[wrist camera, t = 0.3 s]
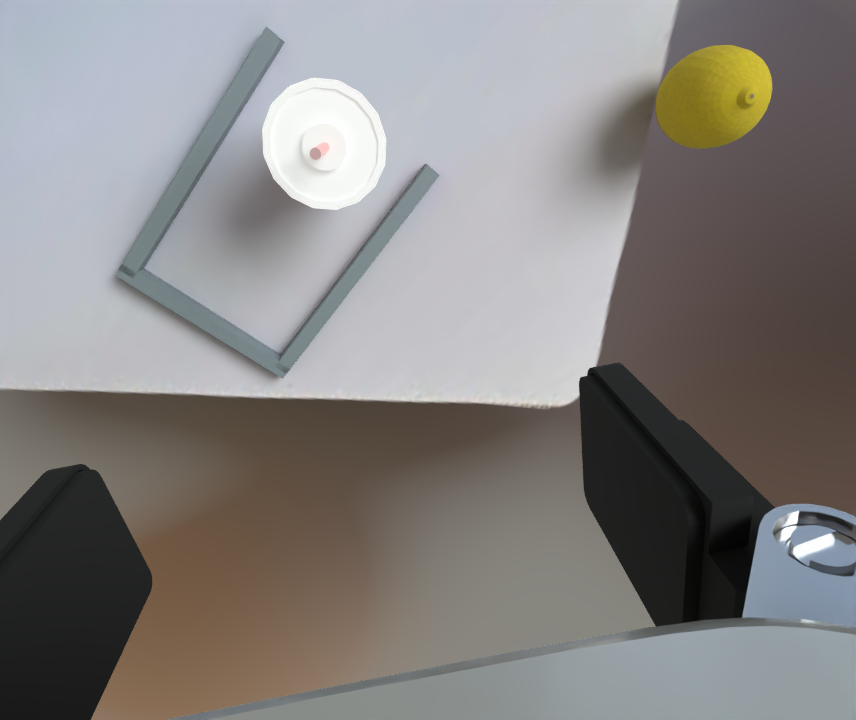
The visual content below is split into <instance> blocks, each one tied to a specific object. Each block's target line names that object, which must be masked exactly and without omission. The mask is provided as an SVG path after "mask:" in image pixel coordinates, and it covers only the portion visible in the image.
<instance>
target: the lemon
mask: <svg viewBox="0 0 856 720" xmlns="http://www.w3.org/2000/svg"><path fill="white" fill-rule="evenodd" d="M771 92H772V79H771V75H770V72H769V69H768V67H767V66H766V64H765V63H764V61H763V60H762V59H761V58H760V57H759V56H757V55H756V54H755V53H753V52H752V51H750V50H747V49H744V48H740V47H737V46H733V45H718V46H711V47H707V48H704V49H701V50H698V51H695V52H693V53H691V54H690V55H688V56H686V57H685V58H683V59H682V60H680V61H679V62H678V63H677V64H676V65H675V66H674V67H673V68H672V69H671V70H670V71H669V72H668V74H667V75H666V77H665V78H664V80H663V81H662V83H661V85H660V88H659V90H658V92H657V97H656V103H655V108H656V117H657V120H658V124H659V125H660V127H661V129H662V130H663V132H664V133H665V134H666V135H667V136H668V137H669V138H670V139H671V140H673V141H674V142H676V143H678V144H681V145H683V146H686V147H691V148H701V149H705V148H712V147H717V146H722V145H725V144H727V143H729V142H732V141H734V140H736V139H739V138H740V137H742V136H743V135H745V134H746V133H747V132H748V131H750V130H751V129H752V128H753V127H754V126H755V125H756V124H757V123H758V122H759V120H760V119H761V118H762V116H763V114H764V113H765V111H766V109H767V107H768V104H769V102H770V99H771Z"/></svg>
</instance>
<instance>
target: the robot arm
mask: <svg viewBox="0 0 856 720" xmlns="http://www.w3.org/2000/svg"><path fill="white" fill-rule="evenodd" d="M579 391H580V412H581V436H582V458H583V480H584V492H585V497H586V500H587V503H588V505H589V507H590V509H591V511H592V513H593V515H594V516H595V518H596V520H597V522H598V523H599V525H600V527H601V529H602V531H603V532H604V534H605V536H606V538H607V539H608V541H609V543H610V545H611V547H612V549H613V550H614V552H615V554H616V556H617V557H618V559H619V561H620V563H621V565H622V566H623V568H624V570H625V572H626V574H627V575H628V577H629V579H630V581H631V583H632V584H633V586H634V588H635V590H636V591H637V593H638V595H639V596H640V599H641V600H642V602H643V604H644V606H645V608H646V609H647V611H648V613H649V615H650V617H651V618H652V620H653V622H654V624H655V625H656V627H649V628H644V629H638V630H632V631H626V632H621V633H615V634H609V635H603V636H598V637H592V638H586V639H580V640H575V641H569V642H563V643H557V644H552V645H546V646H541V647H535V648H530V649H525V650H519V651H514V652H509V653H504V654H499V655H494V656H489V657H484V658H478V659H473V660H468V661H462V662H457V663H452V664H447V665H442V666H436V667H431V668H426V669H421V670H416V671H410V672H406V673H400V674H395V675H390V676H385V677H380V678H374V679H369V680H365V681H359V682H354V683H349V684H344V685H339V686H334V687H329V688H323V689H318V690H313V691H308V692H303V693H298V694H293V695H288V696H283V697H278V698H273V699H268V700H263V701H258V702H253V703H248V704H243V705H238V706H233V707H228V708H223V709H218V710H213V711H208V712H203V713H198V714H193V715H188V716H183V717H178V718H173V719H168V720H856V517H854V516H852V515H850V514H847V513H845V512H842V511H839V510H835V509H832V508H829V507H825V506H819V505H812V504H788V505H785V506H781V507H777V508H775V507H774V506H773V505H772V504H771V503H770V502H769V501H768V500H767V499H766V498H764V497H763V496H762V495H761V494H760V493H759V492H758V491H757V490H756V489H755V488H754V487H753V486H752V485H751V484H750V483H749V482H748V481H747V480H746V479H745V478H744V477H743V476H742V475H741V474H740V473H738V471H736V470H735V469H734V468H733V467H732V466H731V465H730V464H729V463H728V462H727V461H726V460H725V459H724V458H723V457H722V456H721V455H720V454H719V453H718V452H717V451H716V450H715V449H714V448H713V447H712V446H711V445H710V444H709V443H708V442H707V441H705V440H704V439H703V438H702V437H701V436H700V435H699V434H698V433H697V432H696V431H695V430H694V429H693V428H692V427H691V426H690V425H689V424H687V423H686V422H685V421H683V420H678V419H677V418H676V417H675V416H674V415H673V414H672V413H671V412H670V411H669V410H668V409H667V408H666V407H665V406H664V405H663V404H662V403H661V402H660V401H659V400H658V399H657V398H656V397H655V396H654V395H653V394H652V393H651V392H650V391H649V390H648V389H647V388H646V387H645V386H644V385H642V383H641V382H640V381H638V380H637V378H635V377H634V376H633V375H632V374H631V373H630V372H629V371H628V370H627V369H626V368H625V367H624V366H623V365H622V364H620V363H614V364H609V365H603V366H598V367H593V368H590V369H589V370H588V374H587V376H585V377H581V378H580V381H579ZM151 588H152V575H151V572H150V570H149V568H148V566H147V564H146V562H145V560H144V558H143V556H142V554H141V552H140V550H139V548H138V547H137V545H136V543H135V541H134V539H133V537H132V535H131V533H130V531H129V529H128V528H127V525H126V523H125V521H124V520H123V518H122V516H121V514H120V512H119V510H118V508H117V506H116V504H115V502H114V500H113V499H112V497H111V495H110V493H109V491H108V489H107V487H106V485H105V483H104V481H103V479H102V477H101V476H100V474H99V473H98V472H97V471H96V470H90V469H89V468H88V467H87V466H86V465H83V464H78V465H73V466H68V467H63V468H57V469H52V470H48V471H46V472H45V473H44V474H43V475H42V476H41V477H40V478H39V479H38V480H37V481H36V482H35V484H33V485H32V487H31V488H30V489H29V490H28V491H27V492H26V493H25V494H24V495H23V496H22V497H21V499H20V500H19V501H18V502H17V503H16V504H15V505H14V506H13V507H12V508H11V509H10V510H9V511H8V513H7V514H6V515H5V516H4V517H3V518H2V519H1V520H0V720H91V718H92V716H93V713H94V711H95V709H96V707H97V705H98V703H99V701H100V698H101V696H102V694H103V692H104V690H105V688H106V686H107V684H108V681H109V679H110V677H111V675H112V673H113V670H114V668H115V666H116V664H117V662H118V660H119V658H120V656H121V654H122V652H123V649H124V647H125V645H126V643H127V641H128V639H129V636H130V634H131V632H132V630H133V628H134V625H135V624H136V621H137V619H138V617H139V615H140V613H141V611H142V609H143V606H144V604H145V602H146V600H147V598H148V596H149V594H150V591H151Z"/></svg>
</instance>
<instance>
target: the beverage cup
mask: <svg viewBox="0 0 856 720" xmlns="http://www.w3.org/2000/svg"><path fill="white" fill-rule="evenodd" d="M262 135H263V155H264V158H265V160H266V162H267V165H268V167H269V169H270V172H271V174H272V176H273V179H274V180H275V181H276V182H277V183H278V184H279V185H280V186H281V187H282V188H283V189H284V190H285V192H286V193H287V194H288V195H289V196H290V197H291V198H293V199H295V200H297V201H299V202H301V203H303V204H306V205H308V206H310V207H312V208H317V209H332V210H338V209H340V208H343V207H346V206H349V205H352V204H355V203H358V202H359V201H360V200H361V199H362V198H363V197H364V196H366V195H367V194H368V193H369V192H370V191H371V190H372V189H373V188H374V187H375V186H376V184H377V181H378V179H379V177H380V175H381V173H382V170H383V168H384V166H385V157H386V137H385V134H384V131H383V127H382V124H381V121H380V118H379V115H378V113H377V112H376V111H375V110H374V108H373V107H372V106H371V105H370V103H369V102H368V101H367V100H366V98H365V97H364V96H363V95H362V93H360V92H358V91H357V90H355V89H353V88H351V87H349V86H348V85H346V84H344V83H342V82H340V81H339V80H331V79H321V78H310V79H307V80H305V81H302V82H299V83H296V84H294V85H291V86H288V88H287V89H286V90H285V91H284V92H283V93H282V94H281V95H280V96H279V97H278V98H277V99H276V100H275V101H274V102H273V103H272V104H271V106H270V109H269V111H268V114H267V117H266V120H265V122H264V125H263V128H262Z"/></svg>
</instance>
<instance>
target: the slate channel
mask: <svg viewBox="0 0 856 720" xmlns="http://www.w3.org/2000/svg"><path fill="white" fill-rule="evenodd" d="M283 43H284V41H282V40H281V39H280V38H279V37H278V36H277V35H275V34H274V33H273V32H272V31H271V30H270V29H268V28H267V27H266V28H265V30H264V31H263V33H262V34H261V36H260V38H259V39H258V41H257V43H256V44H255V46H254V48H253V49H252V51H251V53H250V54H249V56H248V58H247V59H246V61H245V62H244V64H243V66H242V67H241V69H240V71H239V72H238V74H237V76H236V77H235V79H234V81H233V82H232V84H231V85H230V87H229V89H228V90H227V92H226V94H225V95H224V97H223V99H222V100H221V102H220V104H219V105H218V107H217V109H216V110H215V112H214V113H213V115H212V117H211V118H210V120H209V122H208V123H207V125H206V127H205V128H204V130H203V132H202V133H201V135H200V136H199V138H198V140H197V141H196V143H195V145H194V146H193V148H192V150H191V151H190V153H189V155H188V156H187V158H186V160H185V161H184V163H183V164H182V166H181V168H180V169H179V171H178V173H177V174H176V176H175V178H174V179H173V181H172V183H171V184H170V186H169V187H168V189H167V191H166V192H165V194H164V196H163V197H162V199H161V201H160V202H159V204H158V206H157V207H156V209H155V211H154V212H153V214H152V215H151V217H150V219H149V220H148V222H147V224H146V225H145V227H144V229H143V230H142V232H141V234H140V235H139V237H138V238H137V240H136V242H135V243H134V245H133V247H132V248H131V250H130V252H129V253H128V255H127V257H126V258H125V260H124V262H123V263H122V265H121V266H120V268H119V270H118V271H117V273H116V275H115V276H117V277H118V278H120V279H121V280H123V281H125V282H126V283H128V284H130V285H131V286H133V287H134V288H136V289H138V290H139V291H141V292H143V293H144V294H146V295H147V296H149V297H151V298H152V299H154V300H156V301H157V302H159V303H160V304H162V305H164V306H165V307H167V308H169V309H170V310H172V311H173V312H175V313H177V314H178V315H180V316H182V317H183V318H185V319H186V320H188V321H190V322H191V323H193V324H195V325H196V326H198V327H199V328H201V329H203V330H204V331H206V332H208V333H209V334H211V335H212V336H214V337H216V338H217V339H219V340H221V341H222V342H224V343H225V344H227V345H229V346H230V347H232V348H234V349H235V350H237V351H238V352H240V353H242V354H243V355H245V356H247V357H248V358H250V359H252V360H253V361H255V362H256V363H258V364H260V365H261V366H263V367H265V368H266V369H268V370H269V371H271V372H273V373H274V374H276V375H278V376H279V377H281V378H282V379H283V378H284V377H285V375H286V374H287V373H288V371H289V370H290V369H291V367H292V366H293V365H294V364H295V362H296V361H297V360H298V358H299V357H300V356H301V354H302V353H303V352H304V351H305V349H306V348H307V347H308V345H309V344H310V343H311V341H312V340H313V339H314V338H315V336H316V335H317V334H318V332H319V331H320V330H321V328H322V327H323V326H324V325H325V323H326V322H327V321H328V319H329V318H330V317H331V315H332V314H333V313H334V312H335V310H336V309H337V308H338V306H339V305H340V304H341V303H342V301H343V300H344V299H345V297H346V296H347V295H348V293H349V292H350V291H351V290H352V288H353V287H354V286H355V284H356V283H357V282H358V280H359V279H360V278H361V277H362V275H363V274H364V273H365V271H366V270H367V269H368V267H369V266H370V265H371V264H372V262H373V261H374V260H375V258H376V257H377V256H378V254H379V253H380V252H381V251H382V249H383V248H384V247H385V245H386V244H387V243H388V241H389V240H390V239H391V238H392V236H393V235H394V234H395V232H396V231H397V230H398V228H399V227H400V226H401V225H402V223H403V222H404V221H405V219H406V218H407V217H408V216H409V214H410V213H411V212H412V210H413V209H414V208H415V206H416V205H417V204H418V203H419V201H420V200H421V199H422V197H423V196H424V195H425V193H426V192H427V191H428V190H429V188H430V187H431V186H432V184H433V183H434V182H435V180H436V179H437V178H438V177H439V175H438V174H437V173H436V172H435V171H434V170H433V169H431V168H430V167H429V166H428V165H427V164H425V166H424V167H423V168H422V170H421V171H420V172H419V174H418V175H417V176H416V177H415V179H414V180H413V181H412V183H411V184H410V185H409V187H408V188H407V189H406V191H405V192H404V193H403V195H402V196H401V197H400V199H399V200H398V201H397V203H396V204H395V205H394V207H393V208H392V209H391V211H390V212H389V213H388V214H387V216H386V217H385V218H384V220H383V221H382V222H381V224H380V225H379V226H378V228H377V229H376V230H375V232H374V233H373V234H372V236H371V237H370V238H369V240H368V241H367V242H366V244H365V245H364V246H363V248H362V249H361V250H360V252H359V253H358V254H357V255H356V257H355V258H354V259H353V261H352V262H351V263H350V265H349V266H348V267H347V269H346V270H345V271H344V273H343V274H342V275H341V277H340V278H339V279H338V281H337V282H336V283H335V285H334V286H333V287H332V289H331V290H330V291H329V292H328V294H327V295H326V296H325V298H324V299H323V300H322V302H321V303H320V304H319V306H318V307H317V308H316V310H315V311H314V312H313V314H312V315H311V316H310V318H309V319H308V320H307V322H306V323H305V324H304V326H303V327H302V328H301V330H300V331H299V332H298V333H297V335H296V336H295V337H294V339H293V340H292V341H291V343H290V344H289V345H288V347H287V348H286V349H285V351H284V352H283V353H282V355H280V354H279V353H277V352H275V351H274V350H272V349H271V348H269V347H267V346H266V345H264V344H263V343H261V342H260V341H258V340H256V339H255V338H253V337H252V336H250V335H248V334H247V333H245V332H244V331H242V330H241V329H239V328H237V327H236V326H234V325H233V324H231V323H229V322H228V321H226V320H225V319H223V318H221V317H220V316H218V315H217V314H215V313H214V312H212V311H210V310H209V309H207V308H206V307H204V306H202V305H201V304H199V303H198V302H196V301H195V300H193V299H191V298H190V297H188V296H187V295H185V294H183V293H182V292H180V291H179V290H177V289H176V288H174V287H172V286H171V285H169V284H168V283H166V282H164V281H163V280H161V279H160V278H158V277H157V276H155V275H153V274H152V273H150V272H149V271H147V270H145V269H144V266H145V265H146V263H147V262H148V260H149V258H150V257H151V255H152V254H153V252H154V250H155V249H156V247H157V246H158V244H159V242H160V241H161V239H162V238H163V236H164V234H165V233H166V231H167V229H168V228H169V226H170V225H171V223H172V221H173V220H174V218H175V217H176V215H177V213H178V212H179V210H180V209H181V207H182V205H183V204H184V202H185V201H186V199H187V197H188V196H189V194H190V193H191V191H192V189H193V188H194V186H195V185H196V183H197V181H198V180H199V178H200V177H201V175H202V173H203V172H204V170H205V169H206V167H207V165H208V164H209V162H210V161H211V159H212V157H213V156H214V154H215V153H216V151H217V149H218V148H219V146H220V144H221V143H222V141H223V140H224V138H225V136H226V135H227V133H228V132H229V130H230V128H231V127H232V125H233V124H234V122H235V120H236V119H237V117H238V116H239V114H240V112H241V111H242V109H243V108H244V106H245V104H246V103H247V101H248V100H249V98H250V96H251V95H252V93H253V92H254V90H255V88H256V87H257V85H258V84H259V82H260V80H261V79H262V77H263V76H264V74H265V72H266V71H267V69H268V68H269V66H270V64H271V63H272V61H273V59H274V58H275V56H276V55H277V53H278V51H279V50H280V48H281V47H282V45H283Z"/></svg>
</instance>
